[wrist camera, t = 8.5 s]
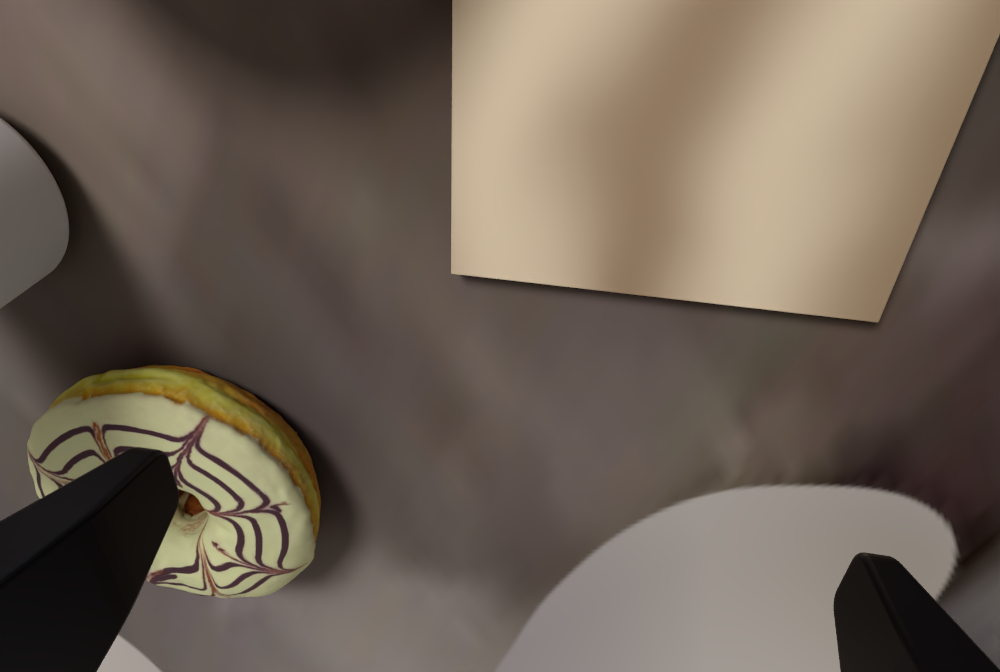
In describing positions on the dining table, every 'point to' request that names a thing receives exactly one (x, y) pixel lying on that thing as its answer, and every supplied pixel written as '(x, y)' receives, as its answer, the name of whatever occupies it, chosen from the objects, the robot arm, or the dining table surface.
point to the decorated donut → (194, 473)
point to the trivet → (707, 143)
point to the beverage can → (27, 217)
